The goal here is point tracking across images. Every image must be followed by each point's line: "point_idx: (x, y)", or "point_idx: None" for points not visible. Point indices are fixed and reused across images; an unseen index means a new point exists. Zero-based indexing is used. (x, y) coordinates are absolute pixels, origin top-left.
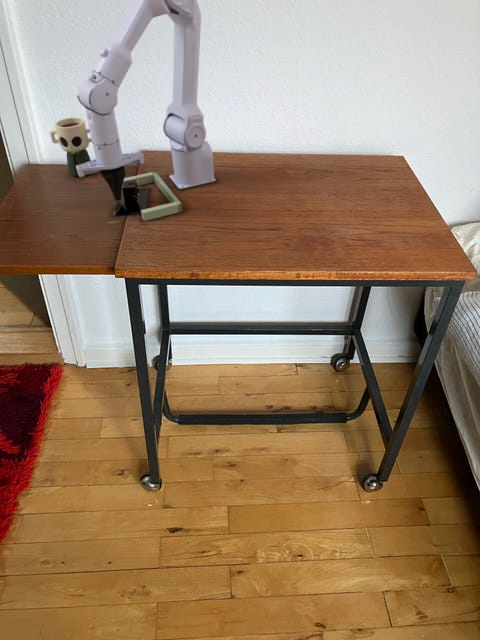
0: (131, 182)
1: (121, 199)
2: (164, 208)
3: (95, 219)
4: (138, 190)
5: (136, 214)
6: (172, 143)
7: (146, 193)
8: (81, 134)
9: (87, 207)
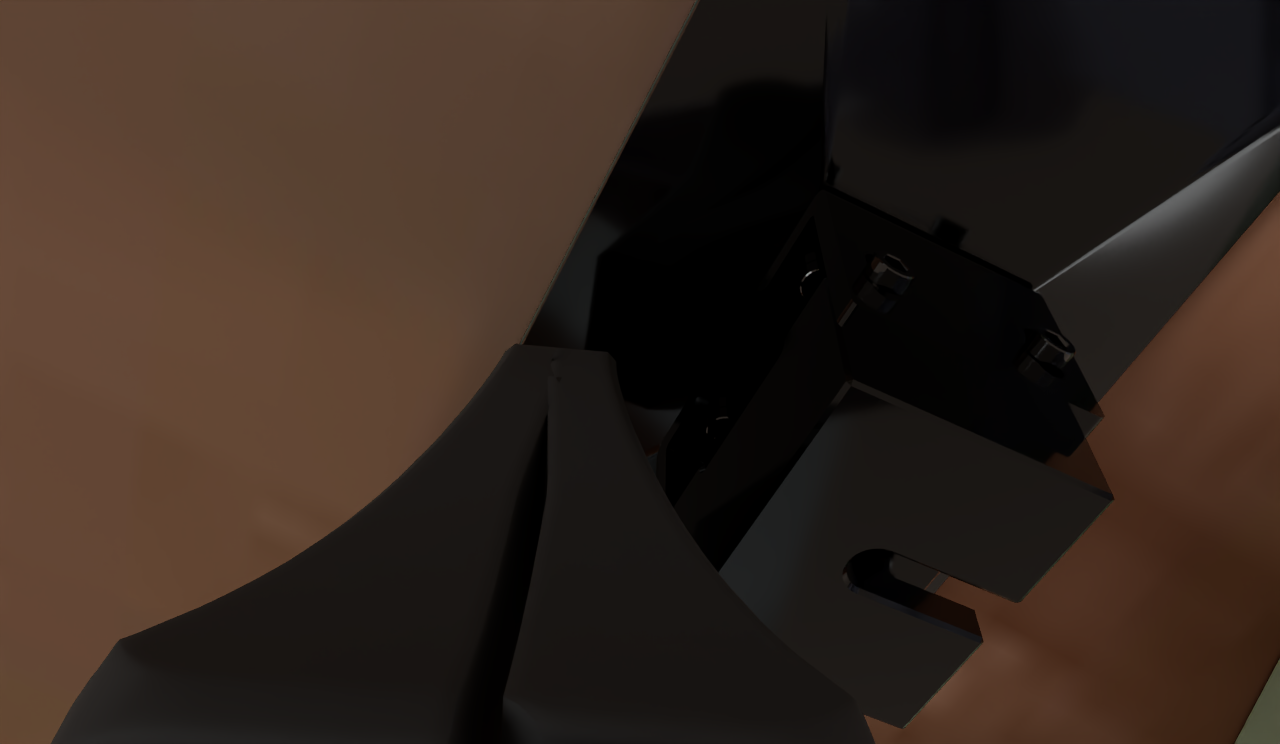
0: (958, 544)
1: (669, 246)
2: None
3: (120, 495)
4: (1148, 61)
5: None
6: None
7: (1193, 251)
8: None
9: (3, 54)
